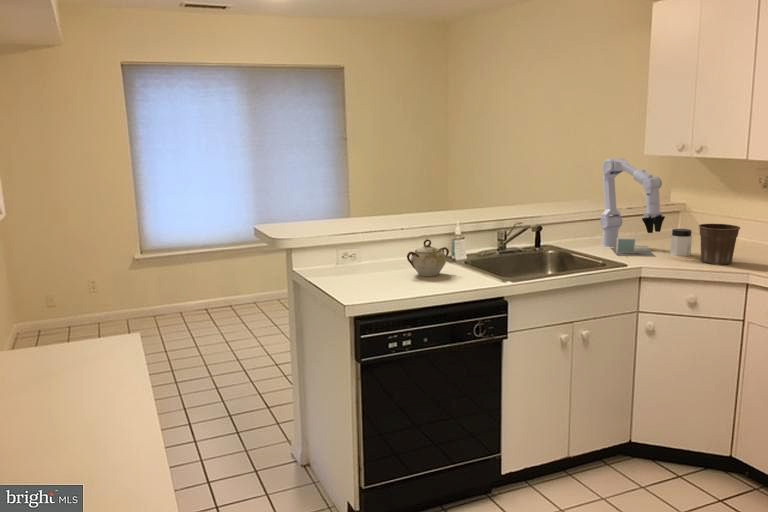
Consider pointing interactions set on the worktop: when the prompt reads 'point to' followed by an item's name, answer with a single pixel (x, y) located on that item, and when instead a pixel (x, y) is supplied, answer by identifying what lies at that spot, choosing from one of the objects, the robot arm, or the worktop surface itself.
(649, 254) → the mat
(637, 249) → the tile
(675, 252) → the jar
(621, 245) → the tile
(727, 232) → the plant pot
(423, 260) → the sugar bowl
